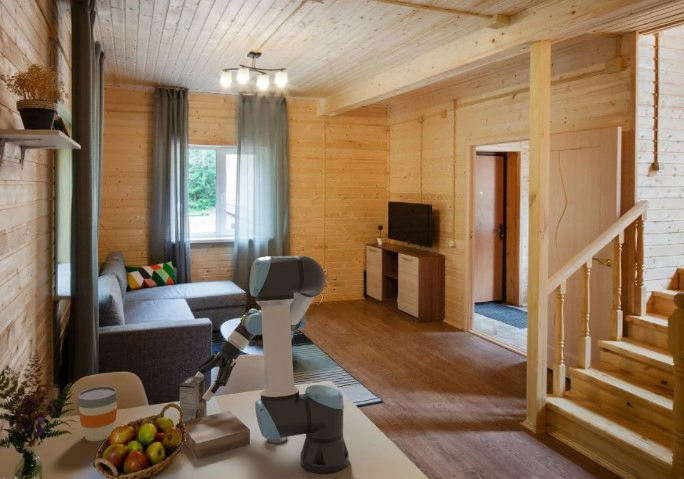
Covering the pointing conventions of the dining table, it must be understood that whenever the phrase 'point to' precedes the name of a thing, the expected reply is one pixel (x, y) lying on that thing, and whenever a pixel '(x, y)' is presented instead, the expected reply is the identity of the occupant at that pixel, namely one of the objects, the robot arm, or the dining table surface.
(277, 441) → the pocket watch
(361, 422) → the dining table surface
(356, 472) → the dining table surface
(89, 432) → the reusable coffee cup
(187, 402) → the coffee box
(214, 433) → the walnut plinth
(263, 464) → the dining table surface
